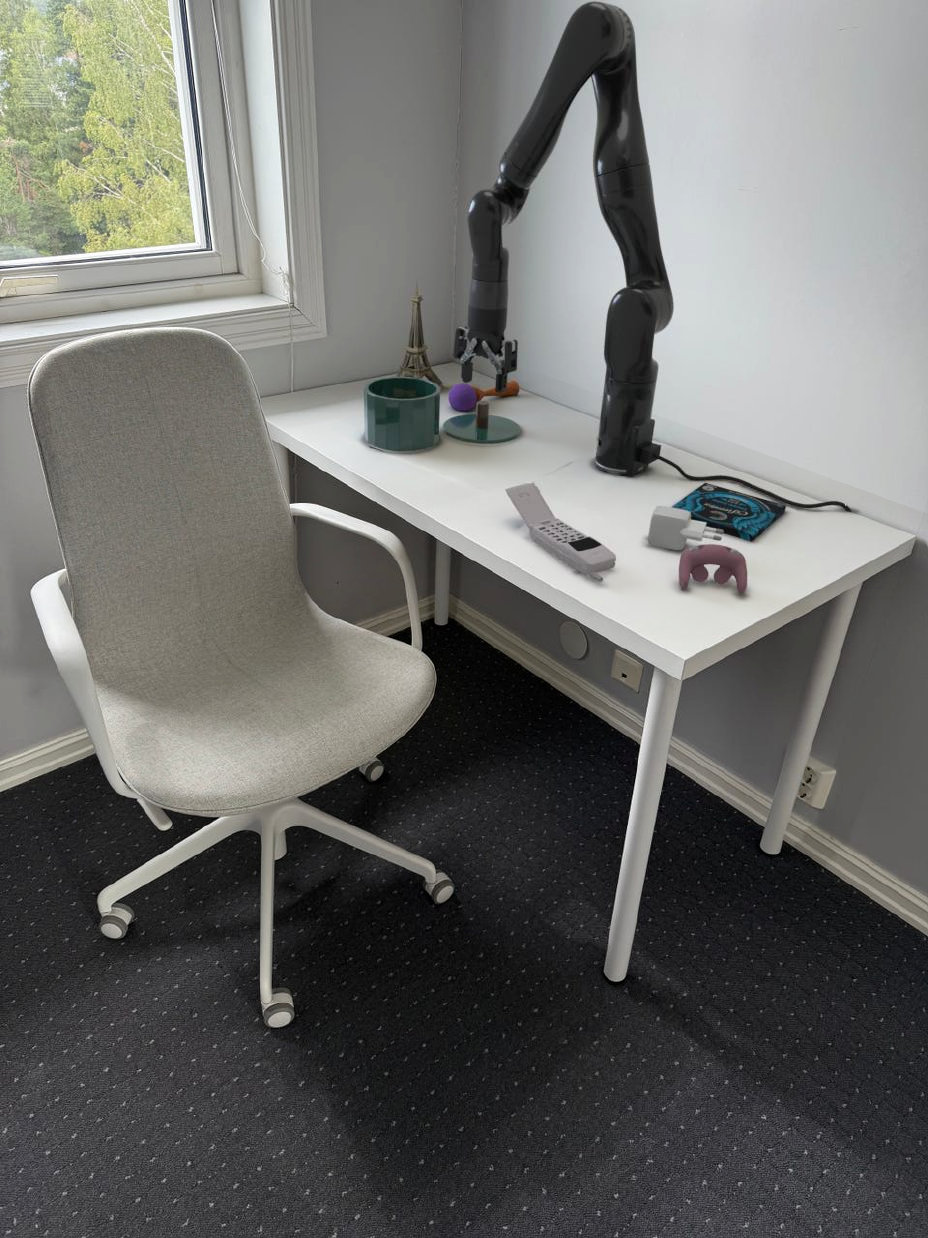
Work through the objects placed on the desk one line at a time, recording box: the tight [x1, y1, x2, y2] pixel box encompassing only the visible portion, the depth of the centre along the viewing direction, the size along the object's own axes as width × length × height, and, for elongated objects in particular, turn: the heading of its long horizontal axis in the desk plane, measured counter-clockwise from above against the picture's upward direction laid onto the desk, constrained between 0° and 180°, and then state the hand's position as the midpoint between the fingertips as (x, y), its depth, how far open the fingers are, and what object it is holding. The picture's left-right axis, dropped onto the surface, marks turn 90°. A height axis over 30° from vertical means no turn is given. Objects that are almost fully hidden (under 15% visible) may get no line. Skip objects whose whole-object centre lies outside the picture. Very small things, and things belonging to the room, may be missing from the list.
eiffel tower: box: [394, 279, 448, 392], centre depth 202 cm, size 11×11×25 cm
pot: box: [363, 376, 441, 453], centre depth 178 cm, size 15×15×10 cm
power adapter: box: [647, 505, 725, 551], centre depth 143 cm, size 11×5×6 cm, turn 69°
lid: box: [442, 400, 521, 444], centre depth 185 cm, size 16×16×6 cm
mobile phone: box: [504, 482, 617, 583], centre depth 142 cm, size 6×6×25 cm
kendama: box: [448, 380, 521, 412], centre depth 200 cm, size 6×6×20 cm
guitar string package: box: [671, 482, 787, 543], centre depth 156 cm, size 15×1×15 cm
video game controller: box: [678, 543, 748, 595], centre depth 134 cm, size 10×5×7 cm, turn 84°
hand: (483, 386), depth 182 cm, fingers open, 8 cm apart
